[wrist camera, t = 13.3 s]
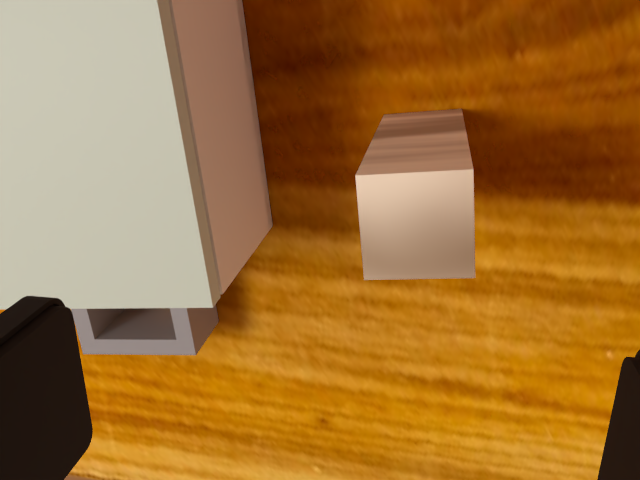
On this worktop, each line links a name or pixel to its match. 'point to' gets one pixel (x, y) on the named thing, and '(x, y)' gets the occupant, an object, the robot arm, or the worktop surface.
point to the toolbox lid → (98, 159)
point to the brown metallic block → (417, 198)
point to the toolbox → (203, 179)
